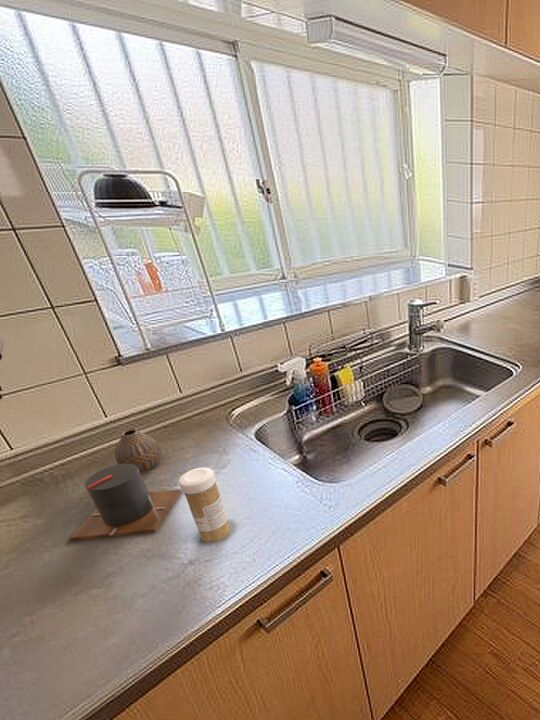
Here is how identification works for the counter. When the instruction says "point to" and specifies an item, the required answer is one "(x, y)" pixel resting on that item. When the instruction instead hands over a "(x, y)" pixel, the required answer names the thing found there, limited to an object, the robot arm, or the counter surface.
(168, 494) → the wooden board
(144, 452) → the vase
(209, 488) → the sprinkles bottle
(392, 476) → the counter surface
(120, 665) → the counter surface
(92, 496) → the knob
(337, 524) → the counter surface
